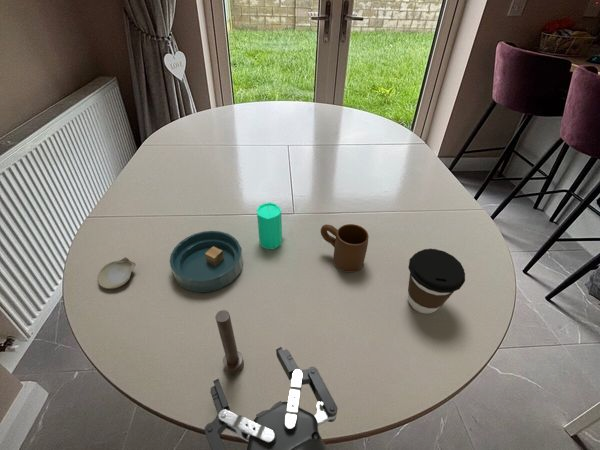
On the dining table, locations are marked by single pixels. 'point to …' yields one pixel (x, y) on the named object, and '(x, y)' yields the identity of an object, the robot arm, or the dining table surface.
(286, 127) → the dining table surface
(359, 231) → the mug
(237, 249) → the bowl
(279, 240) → the candle
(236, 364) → the muddler
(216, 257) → the block
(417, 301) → the coffee cup
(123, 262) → the seashell
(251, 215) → the dining table surface
